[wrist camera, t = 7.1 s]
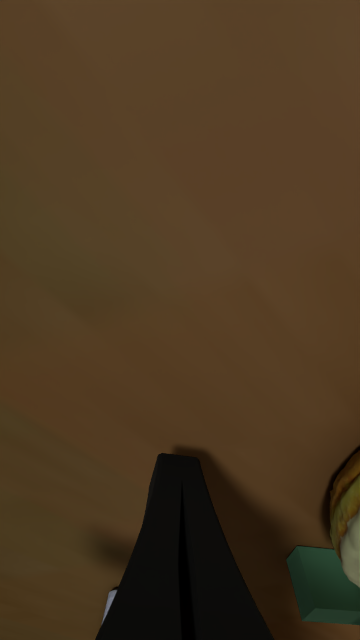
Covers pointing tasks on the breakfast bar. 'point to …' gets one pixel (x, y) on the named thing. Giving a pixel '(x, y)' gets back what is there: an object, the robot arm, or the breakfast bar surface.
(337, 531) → the decorated donut
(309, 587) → the curved teal band
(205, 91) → the breakfast bar surface
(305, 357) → the breakfast bar surface
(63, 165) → the breakfast bar surface
